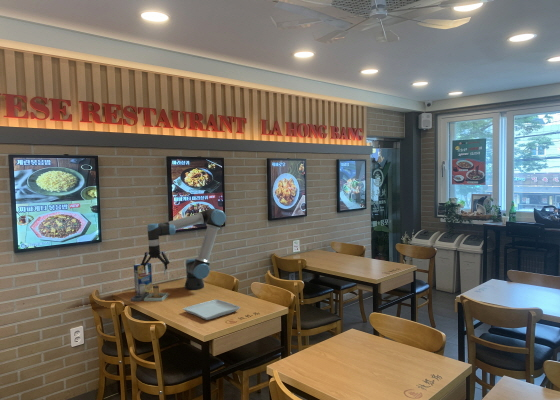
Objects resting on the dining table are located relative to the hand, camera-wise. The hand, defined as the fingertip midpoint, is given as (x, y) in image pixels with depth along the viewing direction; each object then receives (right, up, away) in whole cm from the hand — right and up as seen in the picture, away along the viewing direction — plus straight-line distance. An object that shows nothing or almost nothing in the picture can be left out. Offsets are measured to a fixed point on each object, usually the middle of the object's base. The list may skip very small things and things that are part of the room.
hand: (156, 274), depth 294 cm
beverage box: (-15, -18, +19) cm, 30 cm away
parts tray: (0, -18, +1) cm, 18 cm away
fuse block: (-12, -18, +3) cm, 22 cm away
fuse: (-12, -17, +7) cm, 22 cm away
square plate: (+46, -19, -31) cm, 59 cm away
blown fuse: (0, -18, +1) cm, 18 cm away
